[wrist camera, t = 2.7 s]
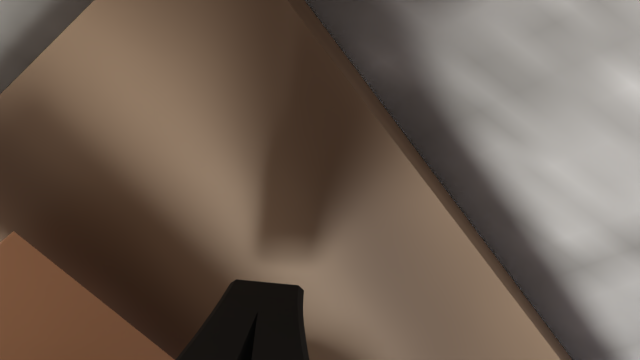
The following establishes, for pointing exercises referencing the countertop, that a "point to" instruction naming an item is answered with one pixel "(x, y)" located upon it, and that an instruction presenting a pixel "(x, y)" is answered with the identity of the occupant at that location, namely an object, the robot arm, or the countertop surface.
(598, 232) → the countertop surface
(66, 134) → the lock board
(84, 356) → the orange bar
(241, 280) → the robot arm
